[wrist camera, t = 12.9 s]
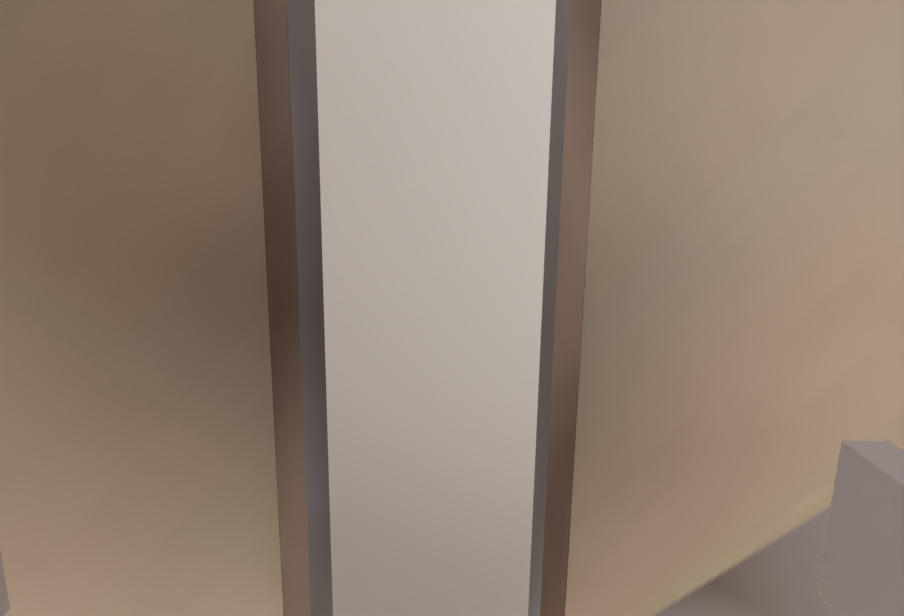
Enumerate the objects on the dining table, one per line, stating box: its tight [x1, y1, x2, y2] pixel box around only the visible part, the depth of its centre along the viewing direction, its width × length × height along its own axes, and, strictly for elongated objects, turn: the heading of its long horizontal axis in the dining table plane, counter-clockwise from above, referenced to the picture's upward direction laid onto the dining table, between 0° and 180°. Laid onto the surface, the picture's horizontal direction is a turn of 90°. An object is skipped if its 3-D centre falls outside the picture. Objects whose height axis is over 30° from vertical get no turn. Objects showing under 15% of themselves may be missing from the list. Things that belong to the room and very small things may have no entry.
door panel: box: [315, 0, 556, 616], centre depth 17 cm, size 4×16×14 cm, turn 179°
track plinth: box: [254, 0, 601, 616], centre depth 23 cm, size 11×24×4 cm, turn 179°
